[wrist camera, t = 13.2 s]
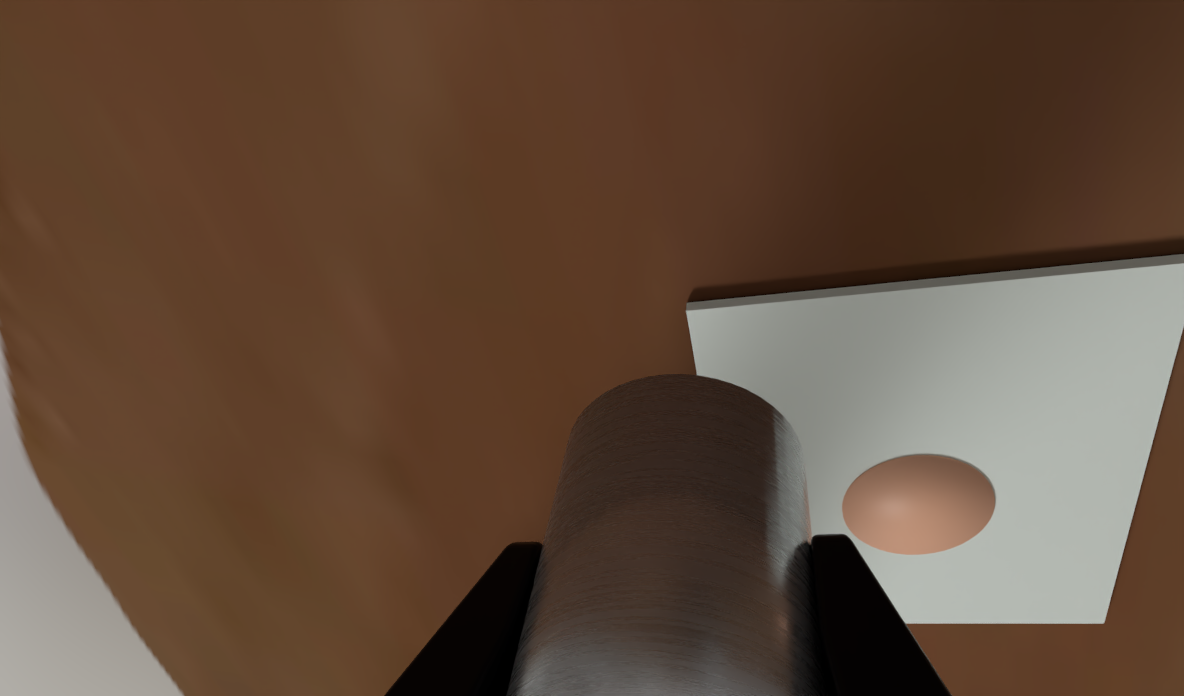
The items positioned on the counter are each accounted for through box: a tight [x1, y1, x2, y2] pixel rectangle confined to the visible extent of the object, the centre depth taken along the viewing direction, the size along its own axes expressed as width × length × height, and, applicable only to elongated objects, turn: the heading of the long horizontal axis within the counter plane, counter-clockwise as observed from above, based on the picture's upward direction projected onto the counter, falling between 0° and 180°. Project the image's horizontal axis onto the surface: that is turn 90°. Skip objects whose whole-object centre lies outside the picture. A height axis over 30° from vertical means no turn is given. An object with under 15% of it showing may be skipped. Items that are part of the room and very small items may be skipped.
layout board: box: [686, 254, 1184, 623], centre depth 21 cm, size 26×16×1 cm, turn 102°
